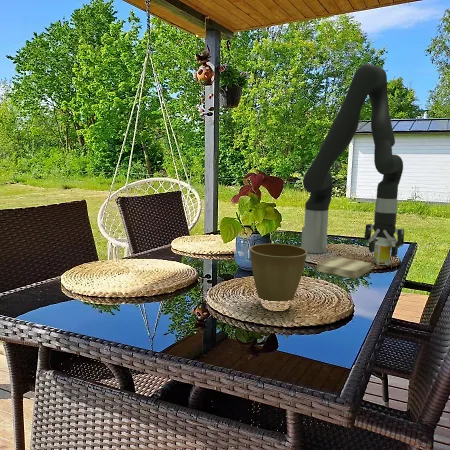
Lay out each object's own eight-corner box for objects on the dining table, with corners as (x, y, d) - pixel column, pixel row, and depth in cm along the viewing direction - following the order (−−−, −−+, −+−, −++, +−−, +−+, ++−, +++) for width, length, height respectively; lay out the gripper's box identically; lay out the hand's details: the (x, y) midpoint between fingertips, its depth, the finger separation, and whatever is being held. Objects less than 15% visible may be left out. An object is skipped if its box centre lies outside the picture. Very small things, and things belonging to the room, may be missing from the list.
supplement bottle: (392, 264, 169) (394, 237, 167) (383, 267, 165) (386, 239, 164) (378, 261, 173) (380, 235, 171) (370, 263, 170) (372, 236, 168)
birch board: (316, 271, 159) (316, 263, 159) (333, 263, 170) (334, 256, 169) (355, 278, 151) (355, 271, 150) (371, 269, 162) (371, 263, 161)
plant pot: (267, 321, 114) (270, 258, 111) (238, 302, 127) (239, 245, 124) (315, 312, 121) (319, 252, 118) (283, 295, 134) (285, 241, 131)
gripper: (362, 209, 168) (359, 252, 171) (399, 214, 158) (395, 259, 161) (373, 207, 173) (370, 249, 176) (409, 212, 163) (406, 256, 166)
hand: (382, 254), depth 169 cm, fingers open, 8 cm apart
